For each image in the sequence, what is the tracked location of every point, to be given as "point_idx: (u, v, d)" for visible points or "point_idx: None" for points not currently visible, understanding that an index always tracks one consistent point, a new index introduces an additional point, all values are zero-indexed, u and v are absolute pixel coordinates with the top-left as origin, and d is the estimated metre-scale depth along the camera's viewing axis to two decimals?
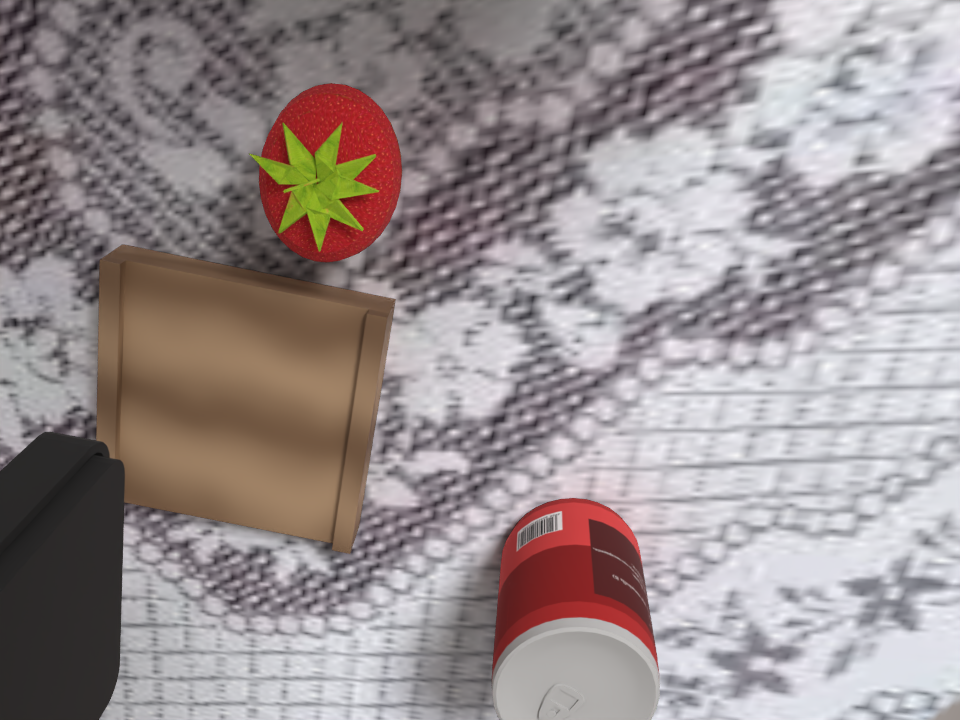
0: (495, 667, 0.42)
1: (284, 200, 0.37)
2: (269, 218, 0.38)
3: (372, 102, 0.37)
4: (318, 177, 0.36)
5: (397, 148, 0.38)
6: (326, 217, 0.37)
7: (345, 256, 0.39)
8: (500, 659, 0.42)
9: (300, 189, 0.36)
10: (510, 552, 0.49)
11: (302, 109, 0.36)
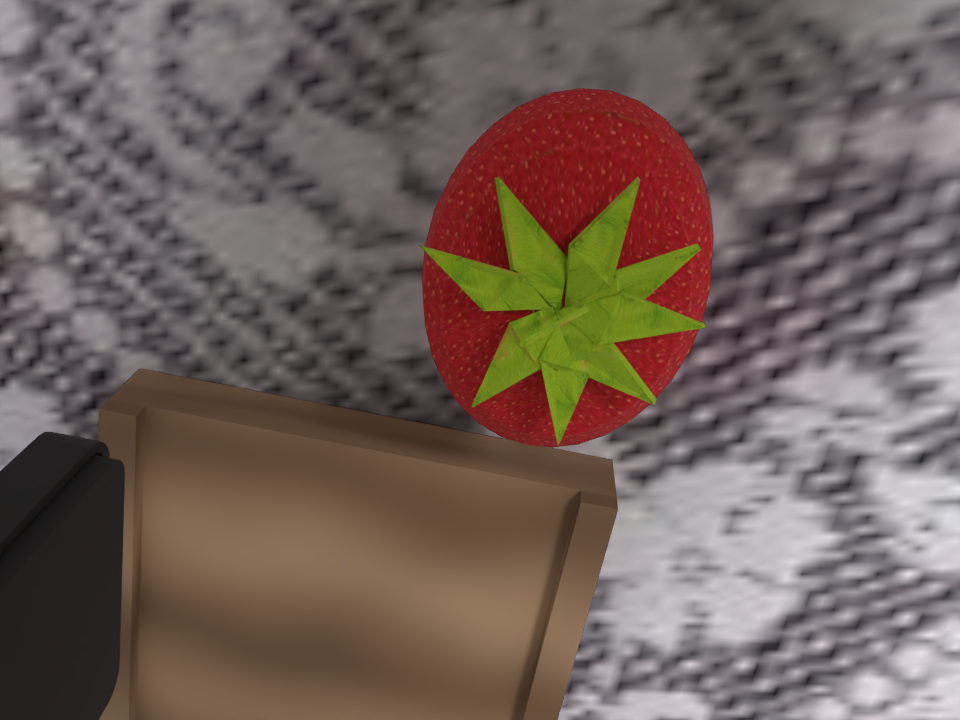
0: None
1: (483, 338, 0.18)
2: (441, 366, 0.19)
3: (669, 128, 0.18)
4: (568, 294, 0.17)
5: (711, 222, 0.18)
6: (581, 378, 0.17)
7: (591, 437, 0.19)
8: None
9: (526, 320, 0.17)
10: None
11: (534, 145, 0.17)
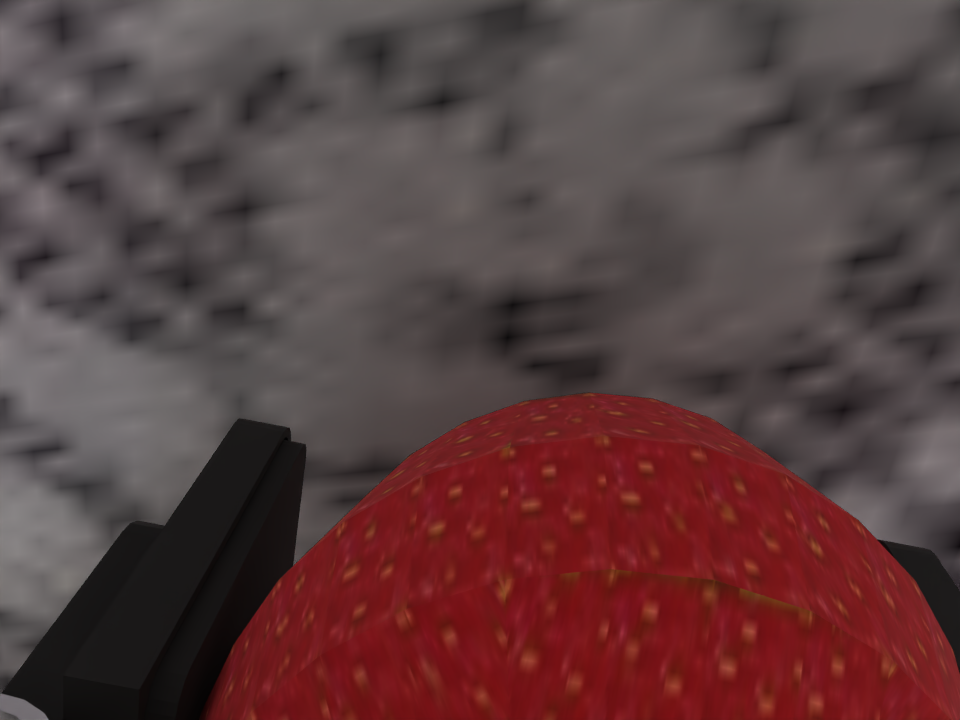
0: None
1: None
2: None
3: (878, 558, 0.06)
4: None
5: None
6: None
7: None
8: None
9: None
10: None
11: (448, 705, 0.05)
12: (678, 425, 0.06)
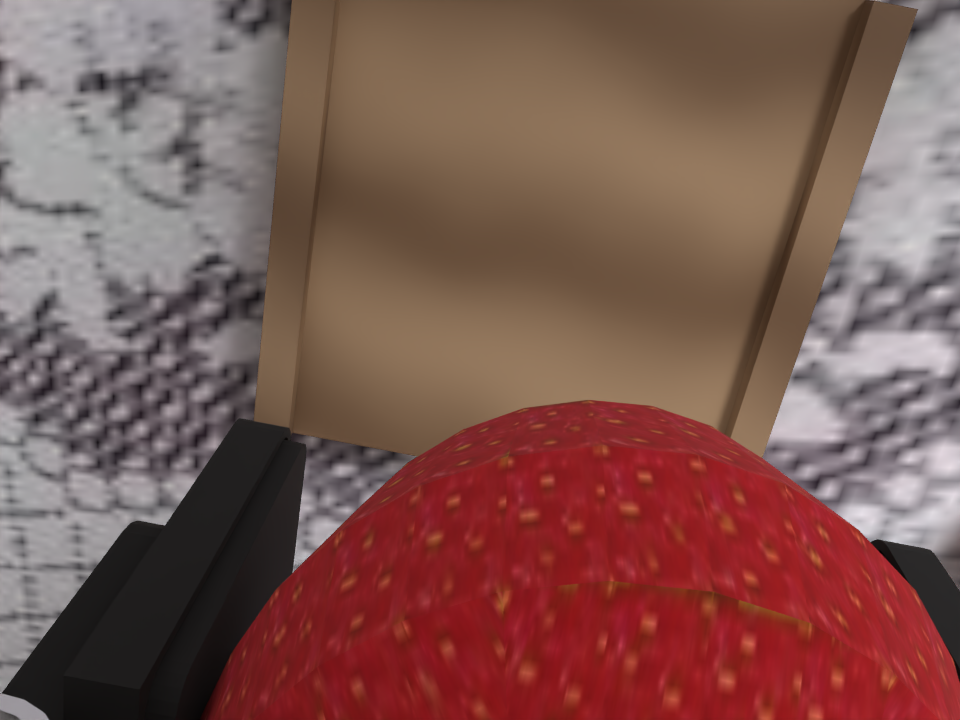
0: None
1: None
2: None
3: (879, 568, 0.06)
4: None
5: None
6: None
7: None
8: None
9: None
10: None
11: (446, 718, 0.05)
12: (677, 433, 0.06)
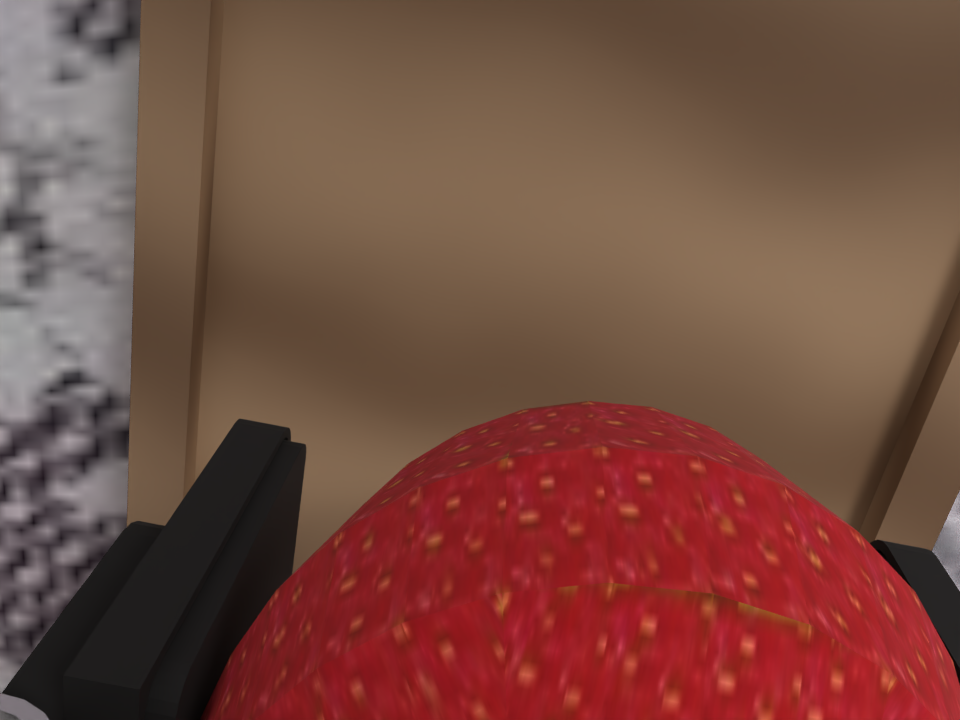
0: None
1: None
2: None
3: (878, 569, 0.06)
4: None
5: None
6: None
7: None
8: None
9: None
10: None
11: None
12: (677, 435, 0.06)
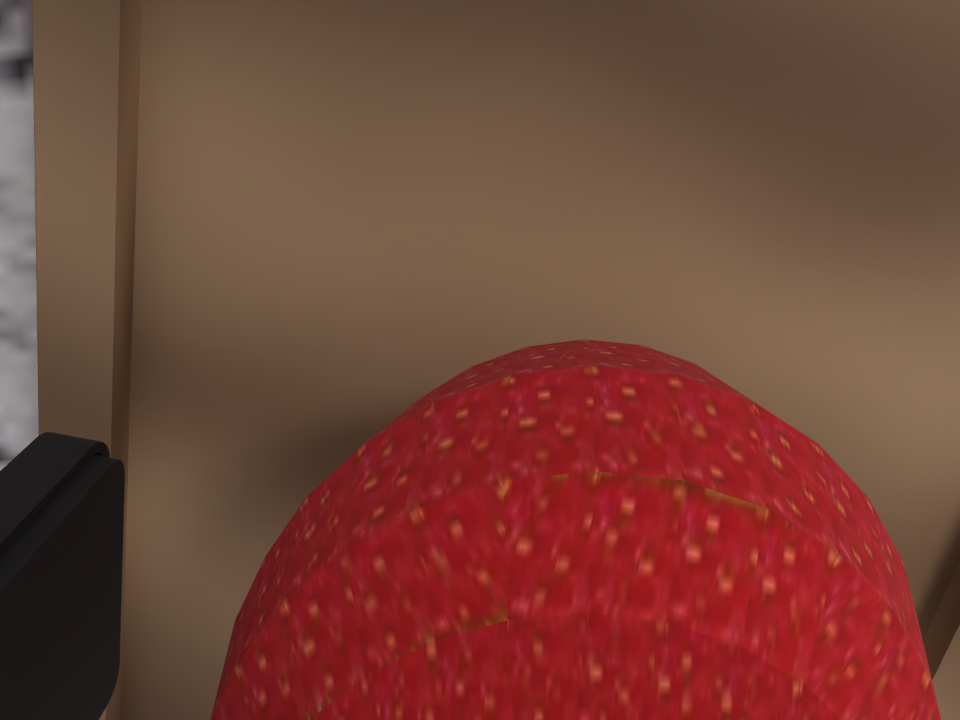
0: None
1: None
2: None
3: (834, 475, 0.06)
4: None
5: None
6: None
7: None
8: None
9: None
10: None
11: (455, 585, 0.06)
12: (661, 362, 0.07)
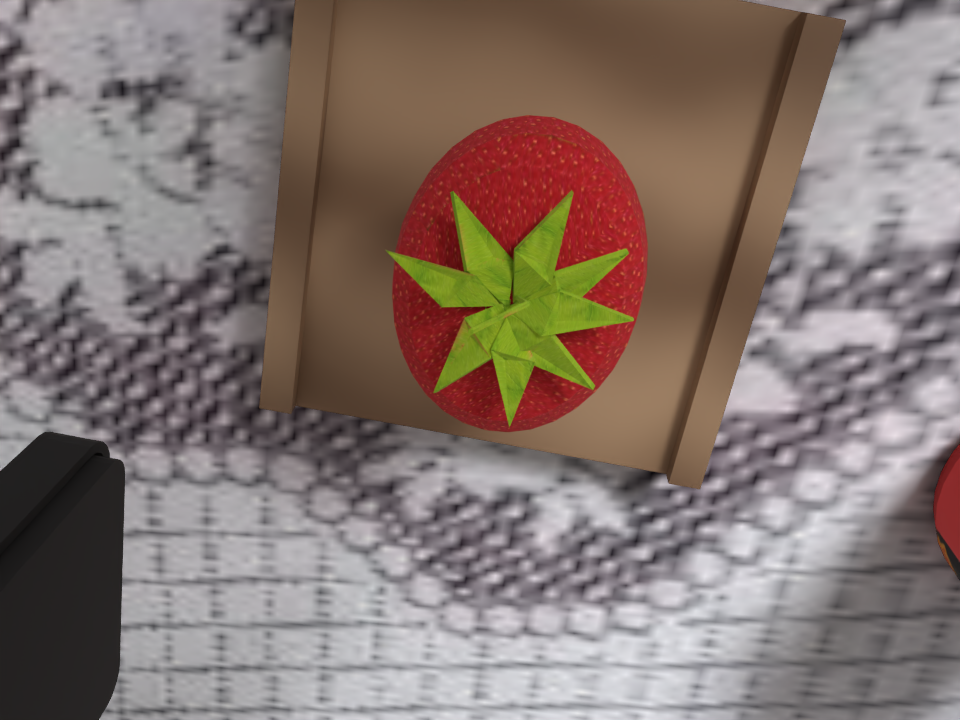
0: None
1: (443, 332, 0.20)
2: (409, 359, 0.21)
3: (605, 149, 0.20)
4: (516, 293, 0.19)
5: (645, 231, 0.21)
6: (528, 366, 0.19)
7: (543, 423, 0.22)
8: None
9: (480, 315, 0.19)
10: None
11: (485, 164, 0.19)
12: None
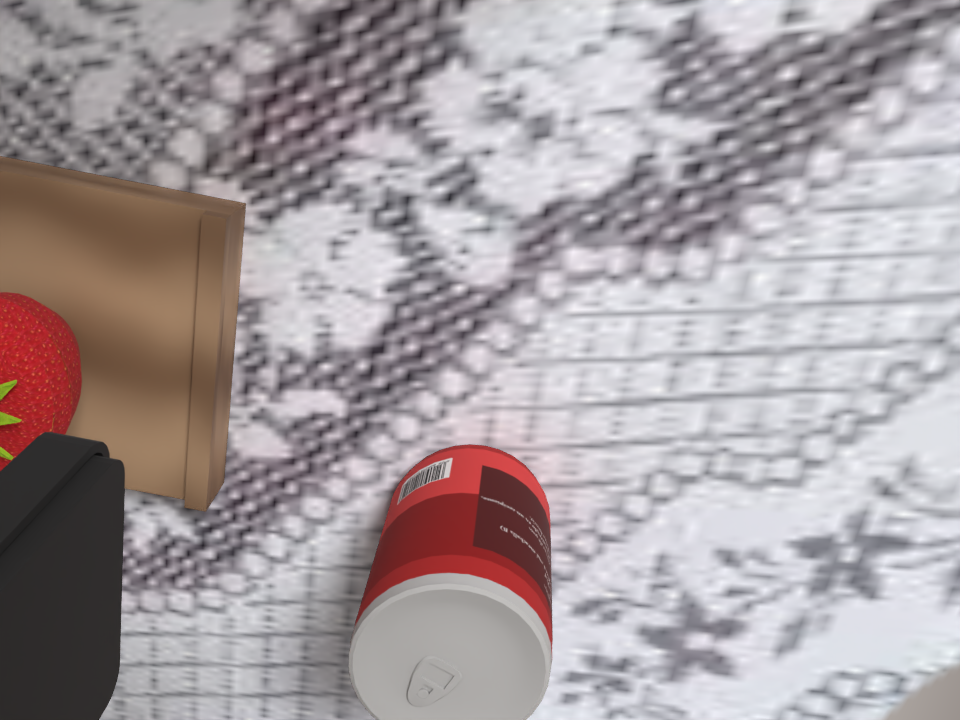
0: (352, 637, 0.35)
1: None
2: None
3: (25, 315, 0.34)
4: None
5: (60, 361, 0.34)
6: None
7: None
8: (356, 627, 0.34)
9: None
10: (392, 507, 0.41)
11: None
12: (2, 294, 0.34)
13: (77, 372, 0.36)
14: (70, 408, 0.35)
